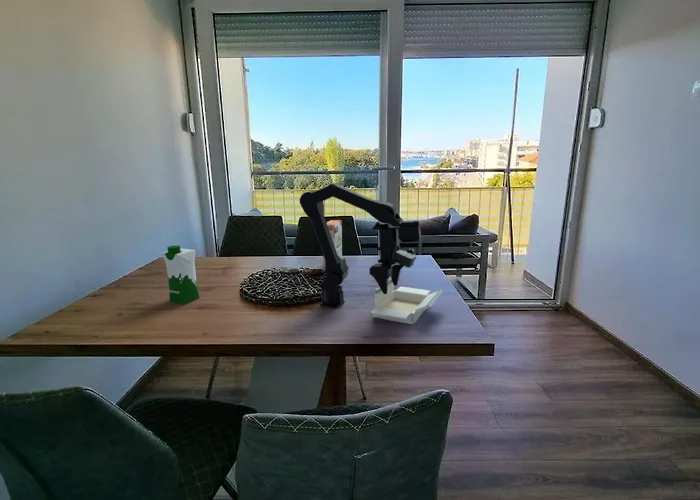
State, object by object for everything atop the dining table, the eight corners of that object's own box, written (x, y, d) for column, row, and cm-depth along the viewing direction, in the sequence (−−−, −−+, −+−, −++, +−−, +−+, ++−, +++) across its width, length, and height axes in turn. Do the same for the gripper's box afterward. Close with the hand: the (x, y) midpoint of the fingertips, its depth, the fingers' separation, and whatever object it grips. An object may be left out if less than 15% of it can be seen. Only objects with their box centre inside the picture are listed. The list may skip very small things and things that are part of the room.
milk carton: (165, 302, 139) (158, 247, 134) (186, 294, 147) (179, 241, 142) (184, 305, 135) (177, 249, 131) (203, 297, 143) (198, 243, 138)
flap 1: (373, 304, 124) (375, 289, 123) (391, 289, 137) (392, 276, 136) (376, 304, 124) (378, 290, 122) (393, 290, 137) (395, 276, 135)
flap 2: (414, 310, 118) (429, 304, 116) (428, 294, 131) (441, 289, 128) (415, 312, 118) (430, 307, 115) (429, 296, 131) (443, 291, 128)
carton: (367, 322, 120) (367, 311, 119) (397, 295, 143) (397, 286, 142) (408, 330, 114) (408, 318, 113) (432, 300, 137) (433, 291, 136)
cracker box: (336, 271, 172) (335, 224, 168) (322, 271, 174) (321, 224, 169) (343, 263, 186) (342, 219, 181) (330, 263, 187) (329, 219, 182)
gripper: (402, 249, 114) (404, 301, 117) (421, 237, 130) (422, 283, 133) (367, 248, 119) (370, 297, 122) (389, 237, 135) (391, 280, 138)
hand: (390, 289), depth 129 cm, fingers open, 9 cm apart
